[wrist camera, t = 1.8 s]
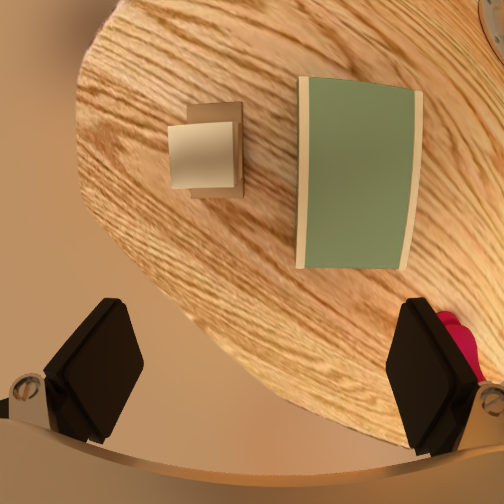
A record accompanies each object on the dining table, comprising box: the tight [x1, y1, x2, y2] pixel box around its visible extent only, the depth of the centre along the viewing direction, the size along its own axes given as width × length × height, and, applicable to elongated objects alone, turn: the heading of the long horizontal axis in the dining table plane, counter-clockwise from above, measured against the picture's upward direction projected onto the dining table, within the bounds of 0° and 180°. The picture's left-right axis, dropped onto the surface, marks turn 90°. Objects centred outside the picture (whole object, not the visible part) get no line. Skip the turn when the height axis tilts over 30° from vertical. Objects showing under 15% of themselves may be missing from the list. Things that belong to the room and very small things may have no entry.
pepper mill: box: [437, 312, 492, 388], centre depth 24 cm, size 7×7×20 cm
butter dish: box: [168, 102, 244, 198], centre depth 24 cm, size 9×5×6 cm, turn 1°
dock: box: [295, 76, 423, 270], centre depth 25 cm, size 17×11×3 cm, turn 1°
